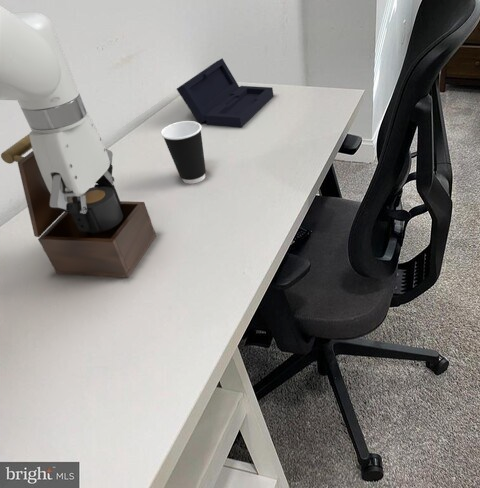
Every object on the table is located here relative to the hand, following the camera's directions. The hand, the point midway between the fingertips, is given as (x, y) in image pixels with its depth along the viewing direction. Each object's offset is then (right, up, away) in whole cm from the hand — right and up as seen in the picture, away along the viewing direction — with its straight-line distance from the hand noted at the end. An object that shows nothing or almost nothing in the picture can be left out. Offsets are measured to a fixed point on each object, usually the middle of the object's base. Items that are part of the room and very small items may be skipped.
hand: (101, 217), depth 77 cm
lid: (-6, +5, -3) cm, 9 cm away
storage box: (+11, +32, +53) cm, 62 cm away
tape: (0, -1, 0) cm, 1 cm away
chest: (-1, -6, +5) cm, 8 cm away
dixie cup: (+8, +10, +24) cm, 27 cm away
